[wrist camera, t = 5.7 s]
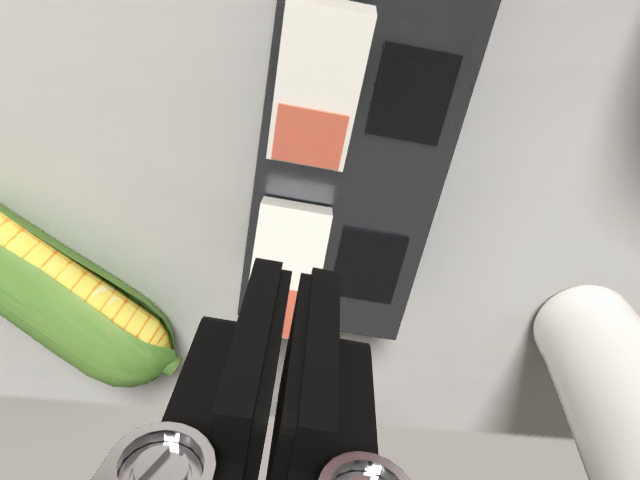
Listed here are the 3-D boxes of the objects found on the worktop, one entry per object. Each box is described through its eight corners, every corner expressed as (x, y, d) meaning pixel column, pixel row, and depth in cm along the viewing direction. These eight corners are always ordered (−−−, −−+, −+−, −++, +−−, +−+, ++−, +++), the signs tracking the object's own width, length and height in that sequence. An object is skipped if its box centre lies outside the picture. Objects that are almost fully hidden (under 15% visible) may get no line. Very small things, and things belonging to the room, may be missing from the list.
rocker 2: (332, 207, 23) (333, 216, 22) (309, 327, 25) (308, 343, 23) (263, 195, 23) (260, 204, 21) (245, 316, 25) (240, 332, 23)
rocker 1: (375, 5, 18) (377, 16, 17) (343, 154, 22) (342, 173, 20) (290, -12, 18) (285, -2, 17) (271, 141, 22) (265, 159, 20)
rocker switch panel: (547, -255, 19) (602, -310, 15) (388, 295, 30) (396, 346, 26) (323, -306, 18) (319, -377, 14) (247, 271, 30) (233, 320, 26)
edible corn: (132, 419, 30) (169, 395, 27) (-231, 192, 24) (-232, 132, 22) (173, 348, 34) (209, 320, 31) (-133, 138, 28) (-123, 81, 26)
